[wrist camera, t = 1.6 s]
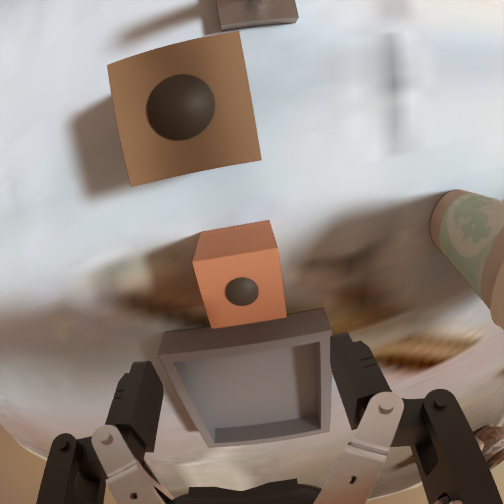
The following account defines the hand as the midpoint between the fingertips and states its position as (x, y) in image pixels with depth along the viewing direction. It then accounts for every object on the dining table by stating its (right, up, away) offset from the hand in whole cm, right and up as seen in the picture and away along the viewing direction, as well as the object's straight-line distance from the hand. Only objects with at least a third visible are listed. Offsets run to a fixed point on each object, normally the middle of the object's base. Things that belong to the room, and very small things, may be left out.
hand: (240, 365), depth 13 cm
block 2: (0, +5, +10) cm, 11 cm away
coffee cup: (+18, +8, +10) cm, 22 cm away
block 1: (-3, +14, +6) cm, 16 cm away
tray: (+1, -8, +16) cm, 18 cm away
